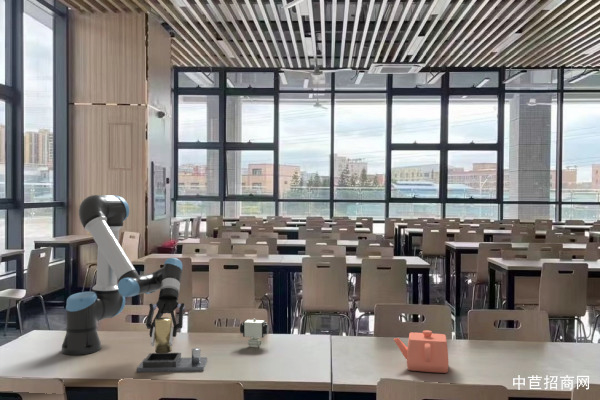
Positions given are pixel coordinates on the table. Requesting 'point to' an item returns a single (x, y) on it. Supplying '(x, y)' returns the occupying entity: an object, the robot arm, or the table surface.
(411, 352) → the teapot
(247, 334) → the pneumatic valve
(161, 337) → the gold tapered block
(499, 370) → the table surface
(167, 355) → the base
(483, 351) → the table surface
